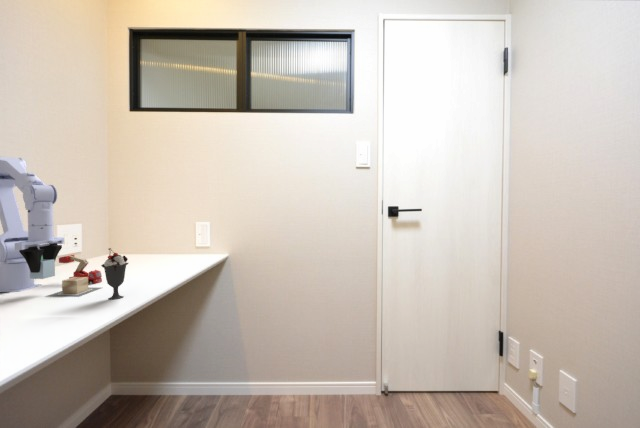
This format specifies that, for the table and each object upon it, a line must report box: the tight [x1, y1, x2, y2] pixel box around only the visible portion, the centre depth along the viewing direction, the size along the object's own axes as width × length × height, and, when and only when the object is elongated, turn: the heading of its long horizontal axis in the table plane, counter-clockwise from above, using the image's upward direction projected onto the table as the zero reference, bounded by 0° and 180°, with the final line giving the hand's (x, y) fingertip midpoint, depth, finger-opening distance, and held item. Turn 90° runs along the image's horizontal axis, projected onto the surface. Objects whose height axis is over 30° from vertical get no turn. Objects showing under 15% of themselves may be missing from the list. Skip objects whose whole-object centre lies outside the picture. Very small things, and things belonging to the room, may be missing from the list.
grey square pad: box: [45, 287, 102, 298], centre depth 98 cm, size 10×10×1 cm
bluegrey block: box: [30, 259, 56, 280], centre depth 96 cm, size 4×4×5 cm
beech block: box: [61, 276, 89, 294], centre depth 98 cm, size 4×4×4 cm
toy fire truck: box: [58, 254, 103, 285], centre depth 110 cm, size 3×14×10 cm, turn 84°
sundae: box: [100, 247, 129, 301], centre depth 92 cm, size 7×7×15 cm
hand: (42, 270), depth 96 cm, fingers closed on bluegrey block, 4 cm apart
